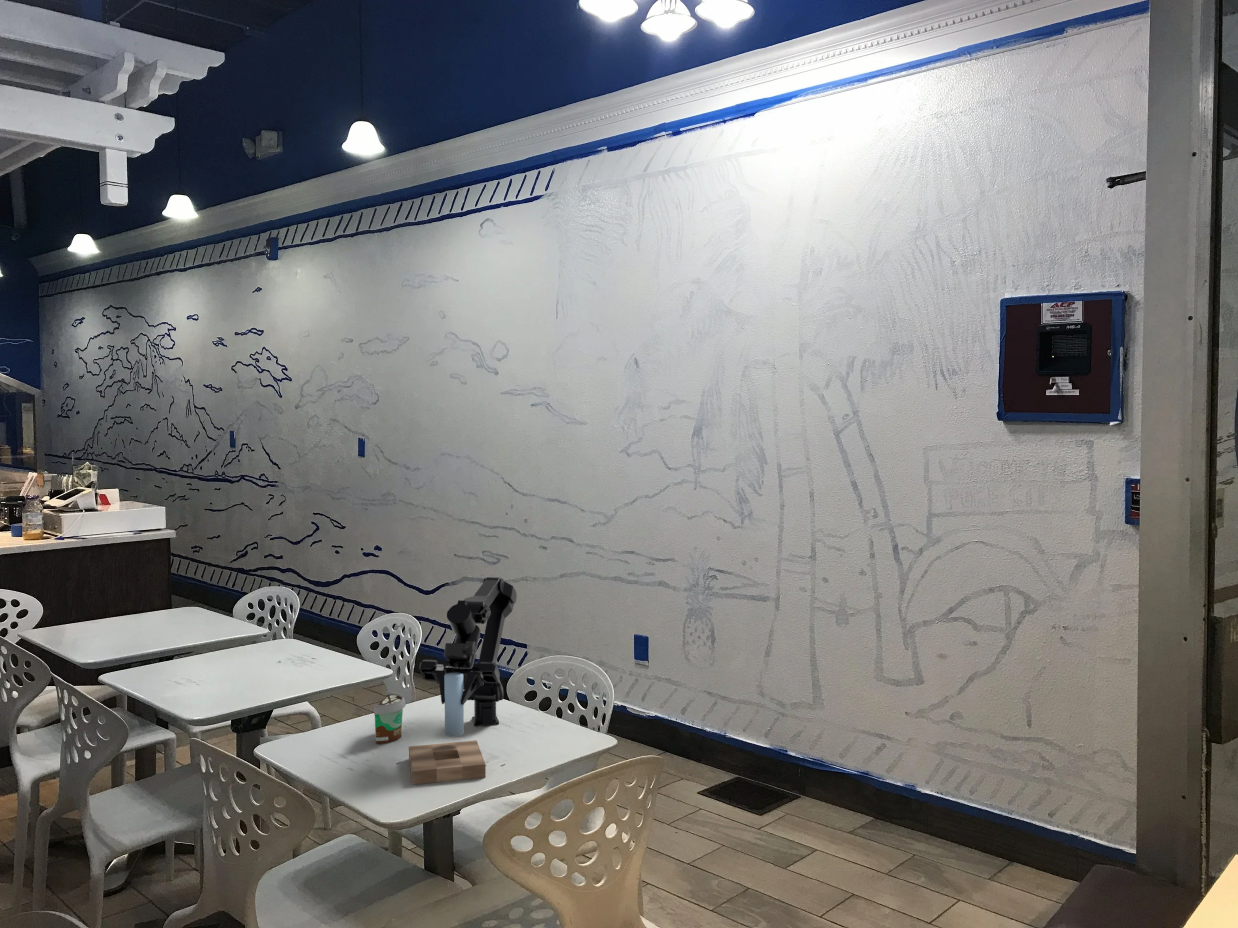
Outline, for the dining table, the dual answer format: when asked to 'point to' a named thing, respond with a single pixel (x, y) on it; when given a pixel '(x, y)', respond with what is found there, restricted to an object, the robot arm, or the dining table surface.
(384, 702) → the food container
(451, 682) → the peg
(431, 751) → the pocket block
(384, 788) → the dining table surface
